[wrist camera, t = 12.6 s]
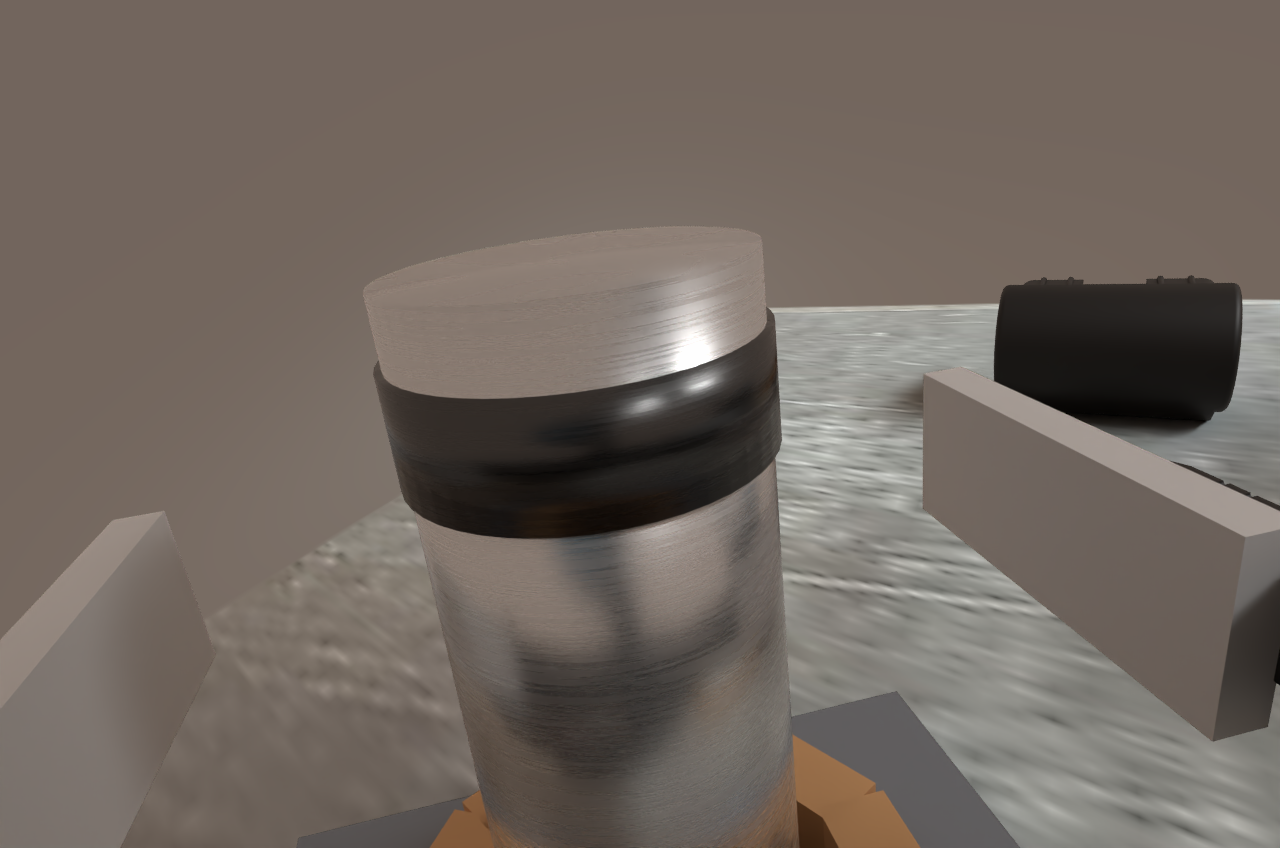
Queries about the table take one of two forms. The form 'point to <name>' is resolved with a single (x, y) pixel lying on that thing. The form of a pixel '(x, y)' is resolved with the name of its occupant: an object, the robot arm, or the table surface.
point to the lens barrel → (602, 529)
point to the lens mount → (825, 792)
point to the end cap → (1121, 346)
